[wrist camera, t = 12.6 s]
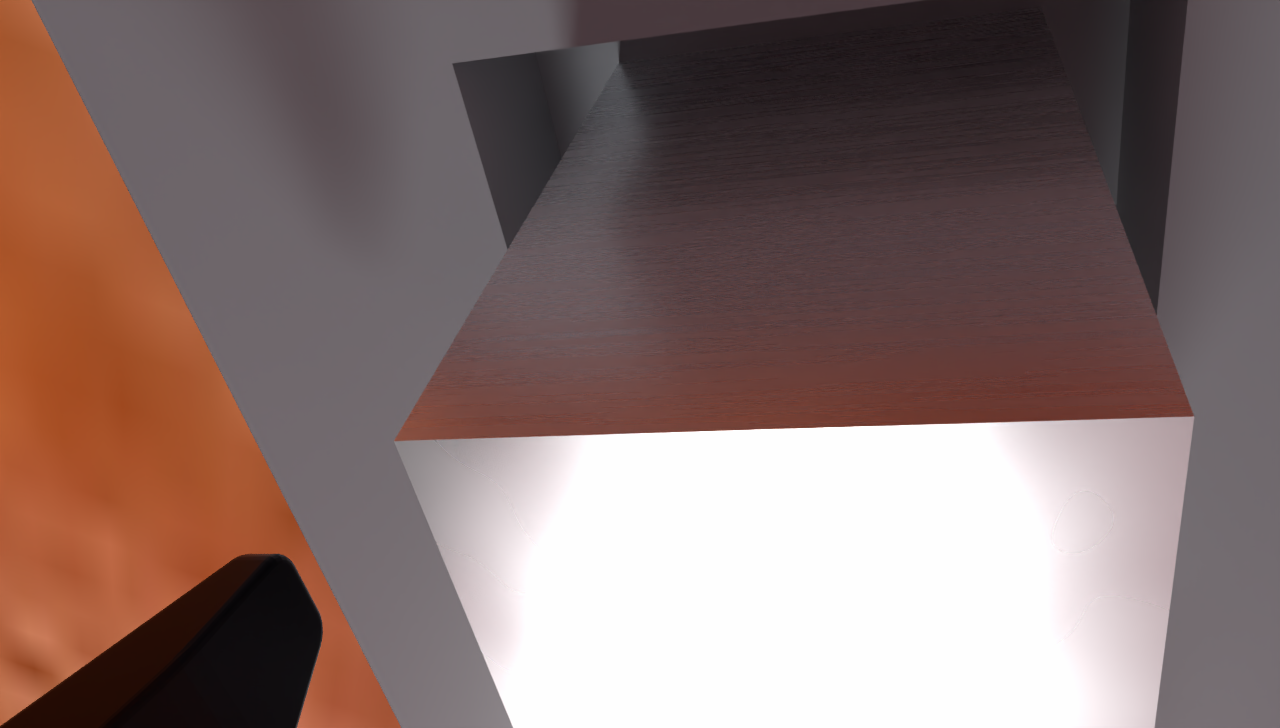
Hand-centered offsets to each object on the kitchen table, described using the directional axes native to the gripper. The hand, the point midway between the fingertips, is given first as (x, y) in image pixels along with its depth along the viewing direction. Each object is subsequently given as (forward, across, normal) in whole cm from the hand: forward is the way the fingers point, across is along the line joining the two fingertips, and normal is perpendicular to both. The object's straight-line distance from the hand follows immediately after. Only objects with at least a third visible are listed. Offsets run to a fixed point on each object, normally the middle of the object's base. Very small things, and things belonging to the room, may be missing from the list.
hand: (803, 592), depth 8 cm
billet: (+4, 0, 0) cm, 4 cm away
